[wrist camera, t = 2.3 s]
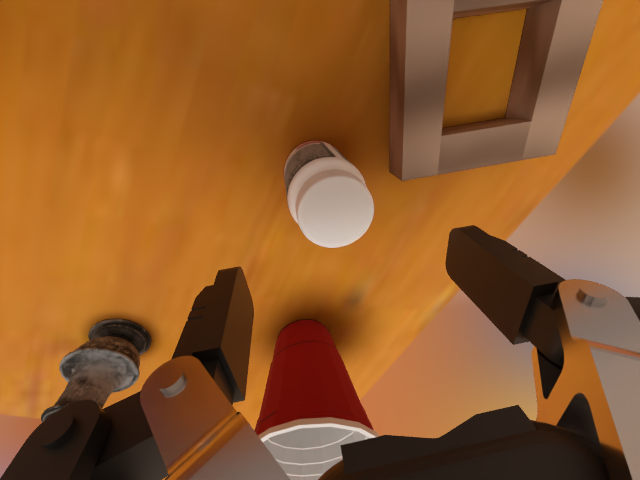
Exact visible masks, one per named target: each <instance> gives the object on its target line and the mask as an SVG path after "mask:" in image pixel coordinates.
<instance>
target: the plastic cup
mask: <svg viewBox="0 0 640 480" xmlns="http://www.w3.org/2000/svg"><path fill="white" fill-rule="evenodd" d="M255 432H256V434H257V435H258V436H259V438H260V439H261V441H262V442H263V443H264V445H265V446H266V447H267V449H268V450H269V451H270V453H271V454H272V455H273V457H274V458H275V460H276V461H277V462H278V464H279V465H280V466H281V468H282V469H283V470H284V472H285V473H286V474H287V476H288V477H289V479H290V480H318V479H319V478H320V477H321V476H322V475H323V474H324V473H325V472H326V471H327V470H328V469H330V468H331V467H332V466H333V465H335V464H337V463H338V462H340V461H341V460H343V459H342V453H341V447H340V445H344V444H348V443H353V442H357V441H361V440H366V439H370V438H375V437H379V435H378V433H377V432H376V431H374V430H373V427H372V425H371V423H370V421H369V419H368V417H367V415H366V412H365V410H364V408H363V406H362V405H361V403H360V400H359V398H358V396H357V393H356V391H355V389H354V386H353V384H352V382H351V379H350V377H349V375H348V372H347V370H346V367H345V365H344V363H343V360H342V358H341V356H340V354H339V352H338V351H337V349H336V346H335V344H334V342H333V339H332V337H331V335H330V333H329V332H328V330H327V329H326V327H325V326H324V325H322V324H321V323H319V322H317V321H313V320H299V321H296V322H293V323H291V324H288V325H287V326H286V327H285V328H284V329H282V330H281V332H280V334H279V336H278V339H277V341H276V345H275V350H274V356H273V361H272V363H271V366H270V371H269V375H268V380H267V384H266V389H265V393H264V398H263V402H262V407H261V411H260V416H259V419H258V421H257V424H256V428H255Z"/></svg>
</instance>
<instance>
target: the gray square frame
mask: <svg viewBox="0 0 640 480" xmlns="http://www.w3.org/2000/svg"><path fill="white" fill-rule="evenodd" d="M602 2H603V0H390V166H389V172H390V173H392V174H393V175H395V176H396V177H397V178H399V179H400V180H401V181H405V180H410V179H416V178H422V177H428V176H433V175H439V174H445V173H451V172H456V171H462V170H468V169H474V168H479V167H485V166H491V165H497V164H502V163H508V162H514V161H520V160H525V159H531V158H537V157H543V156H548V155H554V154H556V151H557V147H558V144H559V141H560V138H561V134H562V131H563V128H564V125H565V122H566V118H567V115H568V112H569V109H570V105H571V102H572V99H573V96H574V93H575V89H576V86H577V83H578V80H579V76H580V73H581V70H582V67H583V64H584V60H585V57H586V54H587V51H588V47H589V44H590V41H591V38H592V35H593V31H594V28H595V25H596V22H597V18H598V15H599V12H600V9H601V6H602ZM520 9H527V13H526V18H525V23H524V28H523V32H522V37H521V42H520V47H519V52H518V57H517V62H516V67H515V72H514V77H513V82H512V86H511V91H510V96H509V101H508V106H507V111H506V116H505V118H502V119H495V120H489V121H483V122H477V123H471V124H465V125H459V126H453V127H446V128H442V123H443V112H444V102H445V92H446V81H447V71H448V60H449V50H450V40H451V29H452V19H455V18H462V17H469V16H476V15H484V14H491V13H498V12H505V11H513V10H520Z"/></svg>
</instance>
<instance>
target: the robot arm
mask: <svg viewBox="0 0 640 480" xmlns="http://www.w3.org/2000/svg"><path fill="white" fill-rule="evenodd" d="M446 270H447V273H448V275H449V276H450V278H451V279H452V280H453V281H454V282H455V283H456V284H457V285H458V286H459V288H460V289H461V290H462V291H463V292H464V293H465V294H466V295H467V296H468V297H469V298H470V299H471V300H472V301H473V302H474V303H475V304H476V306H477V307H478V308H479V309H480V310H481V311H482V312H483V313H484V314H485V315H486V316H487V317H488V318H489V319H490V321H492V323H493V324H494V325H495V326H496V327H497V328H498V329H499V330H500V331H501V332H502V333H503V334H504V335H505V336H506V337H507V338H508V340H509V341H510V342H511V343H512V344H513V345H514V344H519V343H524V342H529V341H530V342H531V343H532V344H533V345H534V347H533V349H532V363H533V371H534V380H535V388H536V397H537V409H538V410H537V418H536V421H533V420H530V419H529V418H528V417H527V416H526V414H525V413H524V412H523V410H521V408H520V407H519V405H516V406H511V407H507V408H503V409H498V410H494V411H489V412H485V413H481V414H476V415H474V416H473V417H471V418H470V419H468V420H467V421H465V422H464V423H462V424H460V425H459V426H457V427H456V428H454V429H453V430H451V431H450V432H448V433H446V434H445V435H443V436H441V437H439V438H433V439H432V438H418V437H405V436H391V435H383V436H379V437H375V438H370V439H366V440H361V441H357V442H353V443H348V444H344V445H340V447H341V453H342V459H343V460H341V461H340V462H338V463H337V464H335V465H333V466H332V467H331V468H330V469H328V470H327V471H326V472H325V473H324V474H323V475H322V476H321V477H320V478H319V479H318V480H640V298H639V297H624V296H623V295H621V294H620V293H619V292H617V291H615V290H613V289H611V288H609V287H607V286H605V285H602V284H599V283H596V282H592V281H587V280H579V279H572V280H565V279H563V278H562V277H560V276H559V275H557V274H556V273H554V272H552V271H551V270H549V269H548V268H546V267H545V266H543V265H542V264H540V263H539V262H537V261H535V260H534V259H532V258H531V257H527V255H526V254H525V253H523V252H521V251H520V250H519V251H518V250H517V248H515V247H514V246H512V245H511V244H509V243H508V242H506V241H504V240H501V239H499V238H496V237H493V236H490V235H489V234H487V233H486V232H484V231H483V230H481V229H480V228H478V227H477V226H474V225H471V226H466V227H460V228H455V229H452V230H451V232H450V235H449V241H448V249H447V256H446ZM253 317H254V308H253V301H252V297H251V294H250V291H249V288H248V285H247V282H246V279H245V276H244V273H243V270H242V268H241V267H234V268H228V269H223V270H219V271H218V273H217V276H216V279H215V282H214V285H212V286H206V287H205V288H204V289H203V290H202V291H201V292H200V294H199V295H198V296H197V297H196V299H195V301H194V304H193V306H192V311H190V314H189V316H188V321H186V324H185V326H184V329H183V332H182V334H181V337H180V339H179V342H178V344H177V347H176V349H175V352H174V354H173V357H172V359H171V360H170V361H168V362H166V363H164V364H163V365H161V366H160V367H159V368H157V369H156V370H155V371H154V372H153V373H152V374H151V375H150V376H149V378H148V379H147V380H146V382H145V384H144V385H143V387H142V390H141V391H140V392H138V393H136V394H134V395H132V396H130V397H127V398H125V399H123V400H121V401H119V402H117V403H115V404H113V405H111V406H108V407H106V408H104V409H102V408H101V407H100V406H99V405H98V404H97V403H96V402H95V401H93V400H81V401H77V402H74V403H72V404H70V405H67V406H65V407H64V408H62V409H60V410H59V411H57V412H55V413H54V414H53V415H51V416H50V417H49V418H47V419H46V420H45V421H44V422H43V423H41V424H40V425H39V426H38V427H37V428H36V429H35V430H34V432H33V433H32V434H31V435H30V436H29V437H28V439H27V440H26V441H25V443H24V444H23V446H22V447H21V449H20V450H19V452H18V453H17V455H16V456H15V458H14V459H13V461H12V462H11V464H10V465H9V466H8V468H7V469H6V471H5V472H4V474H3V476H2V477H1V478H0V480H162V479H163V478H165V477H167V476H168V477H167V478H166V479H165V480H290V479H289V477H288V476H287V474H286V473H285V472H284V470H283V469H282V468H281V466H280V465H279V464H278V462H277V461H276V460H275V458H274V457H273V455H272V454H271V453H270V451H269V450H268V449H267V447H266V446H265V445H264V443H263V442H262V441H261V439H260V438H259V436H258V435H257V434H256V432H255V431H254V430H253V428H252V427H251V426H250V424H249V423H248V422H247V420H246V419H245V418H244V416H243V415H242V414H241V413H240V412H238V413H237V411H236V410H235V409H234V408H233V406H232V405H233V403H234V402H239V401H244V400H245V394H246V384H247V374H248V365H249V355H250V346H251V336H252V327H253Z"/></svg>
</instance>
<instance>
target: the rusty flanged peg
mask: <svg viewBox="0 0 640 480" xmlns="http://www.w3.org/2000/svg"><path fill="white" fill-rule="evenodd" d="M89 340H90V341H88V342H86V343H84V344H83V345H81V346H80V347H78V348H77V349H76V350H75V351H73V352H70V353H69V354H68V355H66V356H65V357H64V358H63V359H62V361H61V363H60V372H61V374H62V376H63V377H64V379H65V380H66V381H67V382H68V384H67V387H66V389H65V391H64V392H63V393H62V395H61V396H60V398H59V399H58V401H57V402H56V403H55V405H54V406H52V407H50V408H48V409H46V410H45V411H44V412H43V414H42V415H41V420H42V422H44V421H45V420H46V419H47V418H49V417H50V416H51V415H53V414H54V413H55V412H57V411H59V410H60V409H62V408H64V407H65V406H67V405H70V404H72V403H74V402H77V401H81V400H93V401H95V402H96V403H97V404H98V405H99V406H100V407H101V408H103V406H104V404H105V402H106V400H107V398H108V397H109V396H110V394H111V393H112V392H118V391H122V390H124V389H127V388H129V387H130V386H132V385H133V384H134V383H135V382H136V381H137V380H138V377H139V365H140V356H139V355H141V354H143V353H144V352H146V351H147V350H148V349H149V347H150V345H151V336H150V335H149V333H148V331H146V330H145V329H144V328H143V327H142V326H140V325H138V324H137V323H134V322H131V321H128V320H123V319H108V320H104V321H101V322H98V323H97V324H95V325H94V326H93V327H92V328H91V330H90V331H89Z"/></svg>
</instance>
